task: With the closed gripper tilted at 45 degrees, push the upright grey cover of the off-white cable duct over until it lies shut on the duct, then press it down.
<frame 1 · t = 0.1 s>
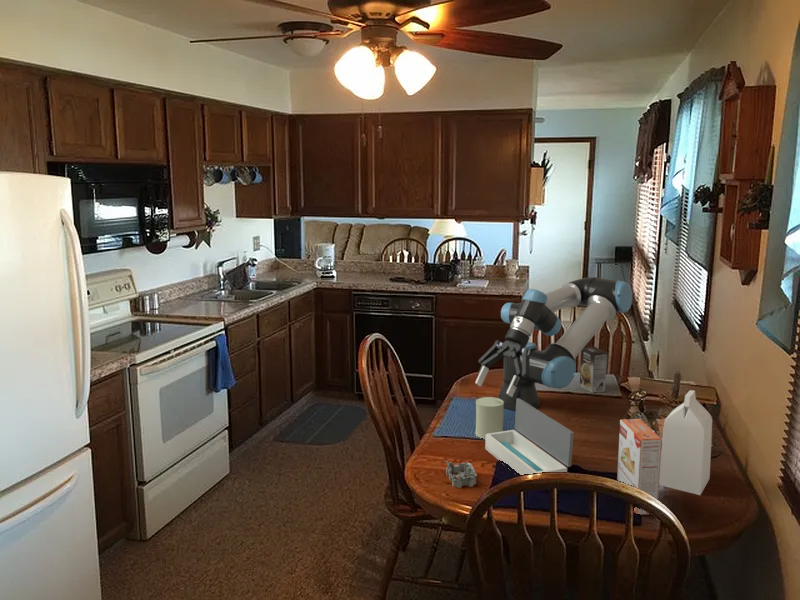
hand: (493, 389, 226), 15 cm above the table, tool tilted 35°, fingers open, 13 cm apart
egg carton: (461, 480, 197), on the table
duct: (523, 465, 205), on the table
coffee box: (592, 389, 273), on the table
duct cover: (542, 430, 205), point 10 cm above the table, hinge at 92.0°
supplement bottle: (645, 462, 207), on the table
can: (489, 435, 229), on the table
cracker box: (635, 503, 183), on the table
milk: (683, 482, 194), on the table
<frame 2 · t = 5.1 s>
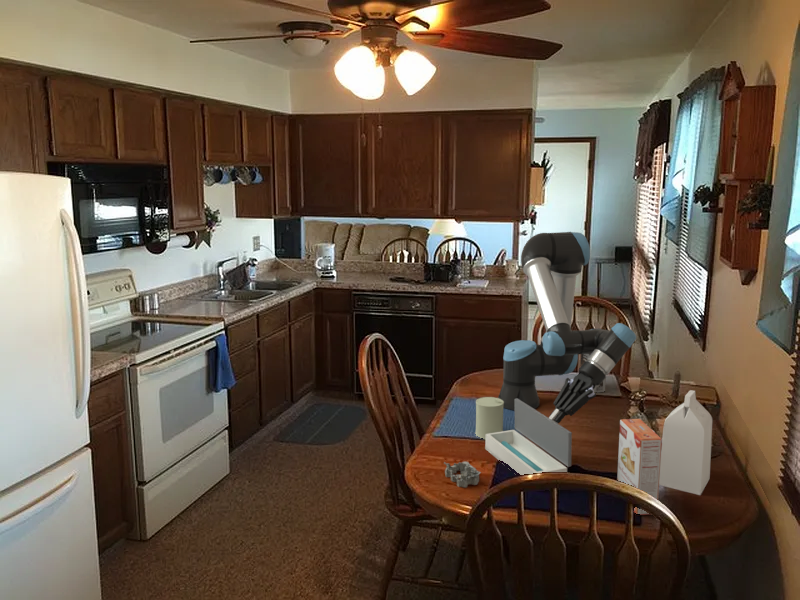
hand: (546, 428, 205), 11 cm above the table, tool tilted 45°, fingers closed
duct cover: (541, 430, 205), point 10 cm above the table, hinge at 88.0°, touching gripper
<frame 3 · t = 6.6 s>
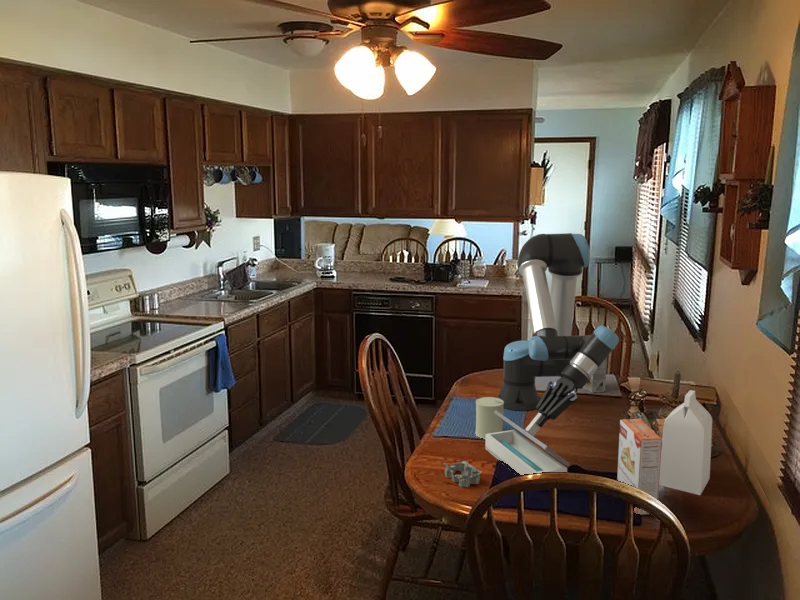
hand: (529, 432, 203), 10 cm above the table, tool tilted 45°, fingers closed
duct cover: (529, 436, 204), point 9 cm above the table, hinge at 39.9°, touching gripper
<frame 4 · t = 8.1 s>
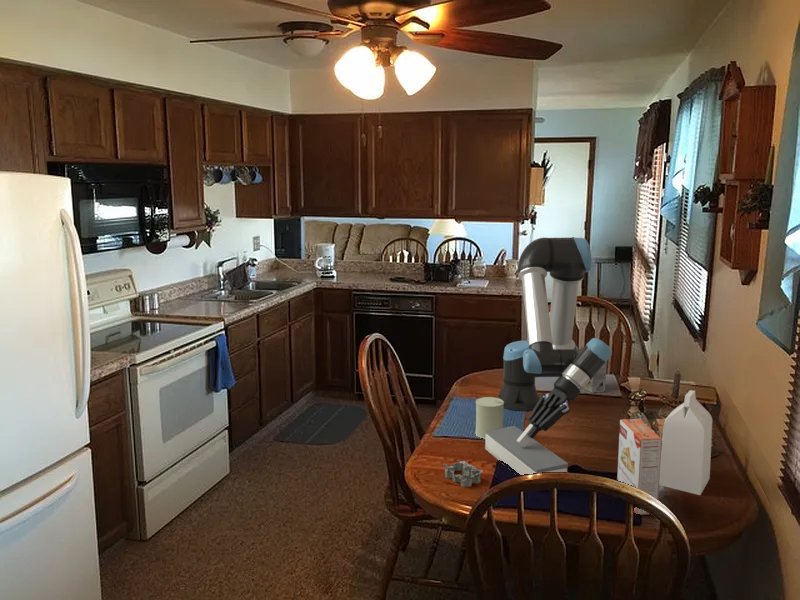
hand: (520, 443, 202), 7 cm above the table, tool tilted 45°, fingers closed
duct cover: (524, 447, 204), point 6 cm above the table, hinge at -1.8°, touching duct, gripper
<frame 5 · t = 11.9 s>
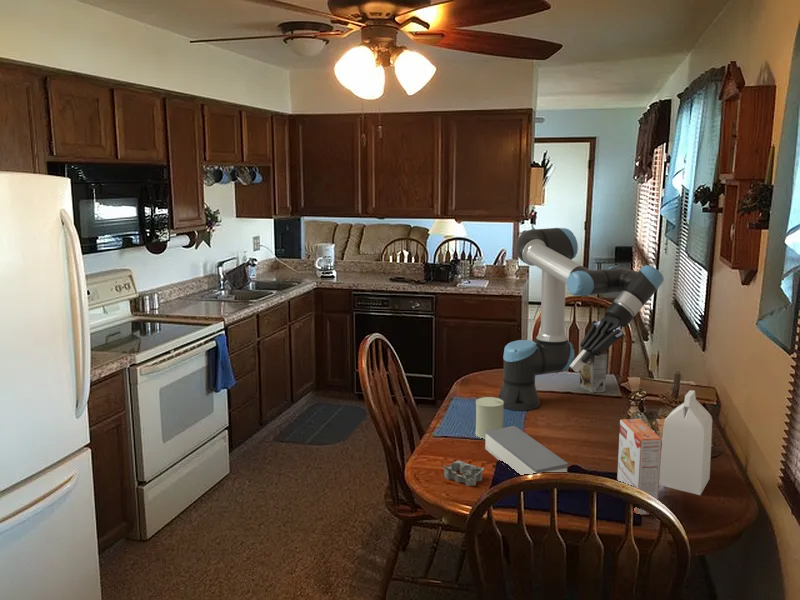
hand: (573, 369, 205), 28 cm above the table, tool tilted 45°, fingers closed
duct cover: (524, 447, 204), point 6 cm above the table, hinge at -1.8°, touching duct
at the end: duct cover at -2° (first picture: +92°); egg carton moved 1.0 cm from its start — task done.
